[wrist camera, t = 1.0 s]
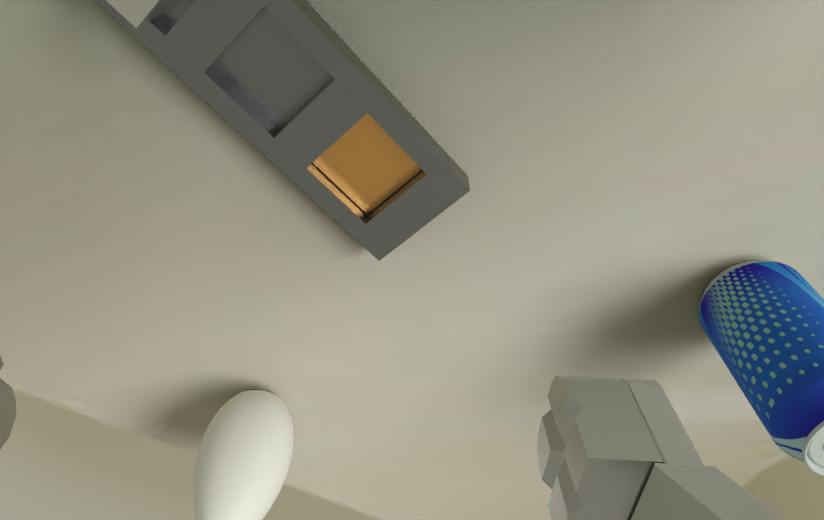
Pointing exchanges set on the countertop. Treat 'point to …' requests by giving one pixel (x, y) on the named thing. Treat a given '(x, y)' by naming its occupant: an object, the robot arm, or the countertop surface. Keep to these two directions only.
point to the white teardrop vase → (243, 458)
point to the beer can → (773, 350)
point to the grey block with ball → (141, 9)
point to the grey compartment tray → (309, 111)
